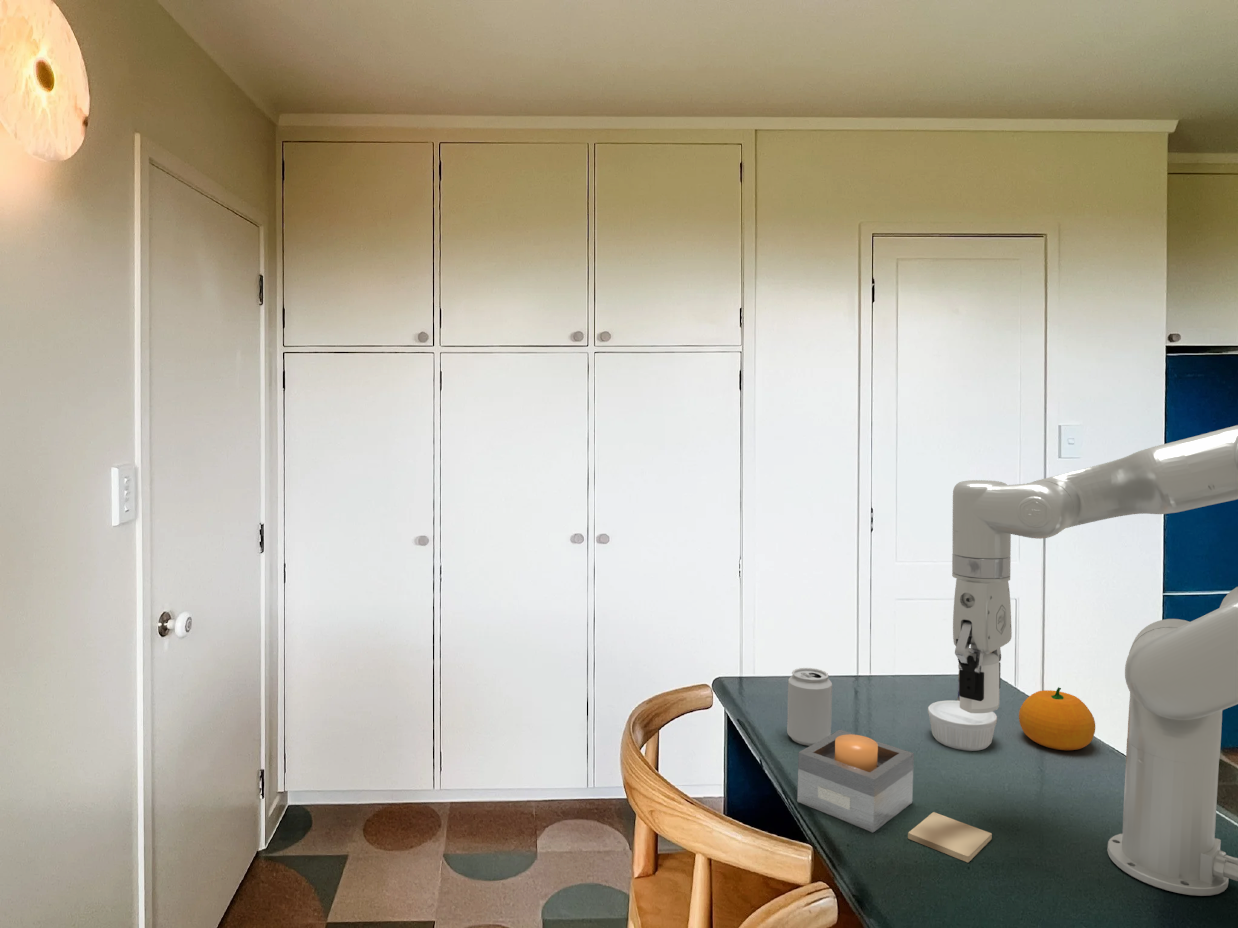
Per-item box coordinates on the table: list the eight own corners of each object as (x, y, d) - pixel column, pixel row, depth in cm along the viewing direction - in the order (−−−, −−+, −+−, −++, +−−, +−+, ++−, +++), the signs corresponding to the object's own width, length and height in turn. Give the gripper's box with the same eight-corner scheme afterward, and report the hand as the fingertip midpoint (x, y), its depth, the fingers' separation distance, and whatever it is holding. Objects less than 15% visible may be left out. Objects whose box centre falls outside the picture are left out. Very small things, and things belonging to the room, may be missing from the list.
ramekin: (931, 750, 135) (932, 720, 134) (923, 725, 145) (923, 697, 145) (1002, 757, 132) (1004, 727, 132) (988, 731, 143) (989, 703, 142)
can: (839, 744, 137) (841, 676, 136) (803, 750, 134) (804, 681, 133) (813, 727, 144) (815, 663, 143) (778, 733, 141) (780, 668, 140)
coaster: (991, 839, 106) (991, 833, 106) (968, 862, 101) (968, 856, 100) (933, 817, 112) (933, 811, 112) (907, 838, 106) (908, 832, 106)
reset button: (884, 779, 116) (885, 743, 115) (864, 792, 112) (865, 755, 111) (847, 766, 120) (848, 731, 120) (826, 778, 116) (827, 742, 116)
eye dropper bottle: (1005, 715, 110) (1006, 630, 109) (962, 713, 111) (963, 629, 110) (995, 704, 114) (996, 623, 114) (954, 702, 115) (955, 622, 115)
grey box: (912, 802, 116) (913, 753, 116) (872, 833, 107) (873, 780, 107) (838, 775, 125) (840, 729, 124) (796, 802, 116) (797, 752, 115)
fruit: (1103, 743, 138) (1105, 687, 137) (1082, 763, 130) (1085, 704, 129) (1031, 724, 146) (1033, 671, 145) (1007, 742, 138) (1010, 686, 137)
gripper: (985, 579, 103) (984, 715, 104) (1029, 562, 115) (1028, 684, 116) (928, 572, 108) (928, 702, 109) (977, 557, 120) (976, 673, 121)
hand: (979, 691), depth 112 cm, fingers closed on eye dropper bottle, 5 cm apart
